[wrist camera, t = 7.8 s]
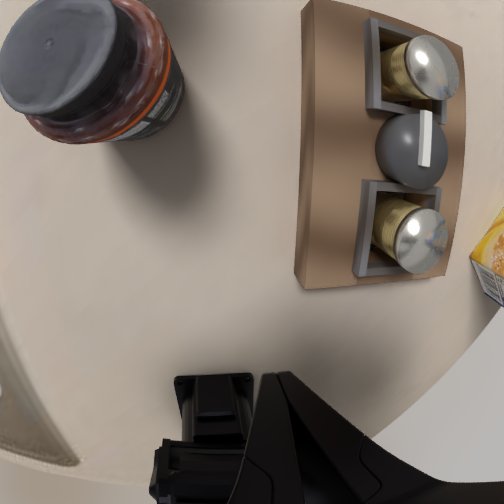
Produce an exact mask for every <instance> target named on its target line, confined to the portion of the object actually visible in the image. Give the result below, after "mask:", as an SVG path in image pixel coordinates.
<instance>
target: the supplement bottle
mask: <svg viewBox="0 0 504 504" xmlns="http://www.w3.org/2000/svg"><path fill="white" fill-rule="evenodd" d="M0 92H1V94H2V96H3V99H4V100H5V101H6V103H7V104H8V105H9V106H10V107H11V108H13V109H14V110H15V111H17V112H20V113H23V114H24V115H25V116H26V119H27V120H28V121H29V123H30V124H31V125H32V126H33V127H34V128H35V129H36V131H38V132H40V133H41V134H42V135H43V136H46V137H48V138H50V139H52V140H54V141H57V142H62V143H67V144H87V143H99V142H111V141H125V140H136V139H141V138H145V137H148V136H150V135H152V134H154V133H156V132H158V131H159V130H161V129H163V128H164V127H165V126H166V125H167V124H168V123H169V122H170V121H171V120H172V118H173V117H174V116H175V114H176V113H177V111H178V109H179V107H180V105H181V102H182V99H183V95H184V79H183V75H182V72H181V69H180V67H179V64H178V62H177V60H176V57H175V55H174V52H173V50H172V48H171V45H170V43H169V41H168V38H167V36H166V33H165V31H164V28H163V26H162V24H161V22H160V20H159V19H158V17H157V16H156V15H155V13H154V12H153V11H152V10H151V9H150V8H149V7H148V6H146V5H145V4H143V3H142V2H140V1H138V0H38V1H37V2H35V3H34V4H33V5H32V6H30V7H29V8H28V9H27V10H26V11H25V12H24V13H23V14H22V15H21V16H20V17H19V19H18V20H17V21H16V22H15V24H14V25H13V26H12V28H11V30H10V32H9V33H8V35H7V37H6V39H5V41H4V43H3V46H2V48H1V51H0Z"/></svg>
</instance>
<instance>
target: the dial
mask: <svg viewBox="0 0 504 504" xmlns="http://www.w3.org/2000/svg"><path fill="white" fill-rule="evenodd" d="M376 155H377V160H378V163H379V165H380V167H381V169H382V171H383V172H384V174H385V175H386V176H387V177H388V178H389V179H391V180H392V181H394V182H397V183H400V184H403V185H406V186H409V187H412V188H415V189H427V188H430V187H432V186H434V185H435V184H436V183H437V182H438V181H439V180H440V179H441V177H442V176H443V174H444V172H445V169H446V166H447V162H448V145H447V140H446V137H445V134H444V132H443V130H442V129H441V127H440V126H439V124H438V123H437V122H436V121H435V120H434V119H432V112H430V111H426V110H420V114H401V115H395V116H392V117H390V118H389V119H387V120H386V121H385V122H384V123H383V125H382V126H381V128H380V130H379V132H378V135H377V139H376Z"/></svg>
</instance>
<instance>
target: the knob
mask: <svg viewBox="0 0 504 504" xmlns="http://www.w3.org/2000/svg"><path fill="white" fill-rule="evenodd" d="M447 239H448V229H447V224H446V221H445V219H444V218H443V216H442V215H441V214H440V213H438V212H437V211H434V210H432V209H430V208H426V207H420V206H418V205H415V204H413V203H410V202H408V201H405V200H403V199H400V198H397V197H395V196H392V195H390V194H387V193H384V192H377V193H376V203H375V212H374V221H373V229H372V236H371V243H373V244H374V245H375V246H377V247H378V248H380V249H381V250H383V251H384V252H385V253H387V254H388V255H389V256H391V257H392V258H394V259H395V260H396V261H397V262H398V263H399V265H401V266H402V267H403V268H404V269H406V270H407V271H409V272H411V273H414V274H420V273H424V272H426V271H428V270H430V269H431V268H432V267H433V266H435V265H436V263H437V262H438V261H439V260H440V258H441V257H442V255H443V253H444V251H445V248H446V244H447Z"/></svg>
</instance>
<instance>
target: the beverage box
mask: <svg viewBox="0 0 504 504" xmlns="http://www.w3.org/2000/svg"><path fill="white" fill-rule="evenodd" d="M470 259H471V261H472V263H473V265H474V268H475V270H476V273H477V275H478V277H479V280H480V283H481V285H482V288H483V290H484V293H485V294H486V295H487V296H489V297H490V298H491V299H493V300H494V301H496V302H497V303H498V304H500V305H501V306H502V307H504V208H503V209H502V211H501V212H500V214H499V215H498V217H497V218H496V220H495V221H494V223H493V224H492V226H491V227H490V229H489V230H488V231H487V233H486V234H485V236H484V237H483V238H482V240H481V241H480V243H479V244H478V245H477V247H476V248H475V249H474V251H473V252H472V253H471V255H470Z"/></svg>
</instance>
